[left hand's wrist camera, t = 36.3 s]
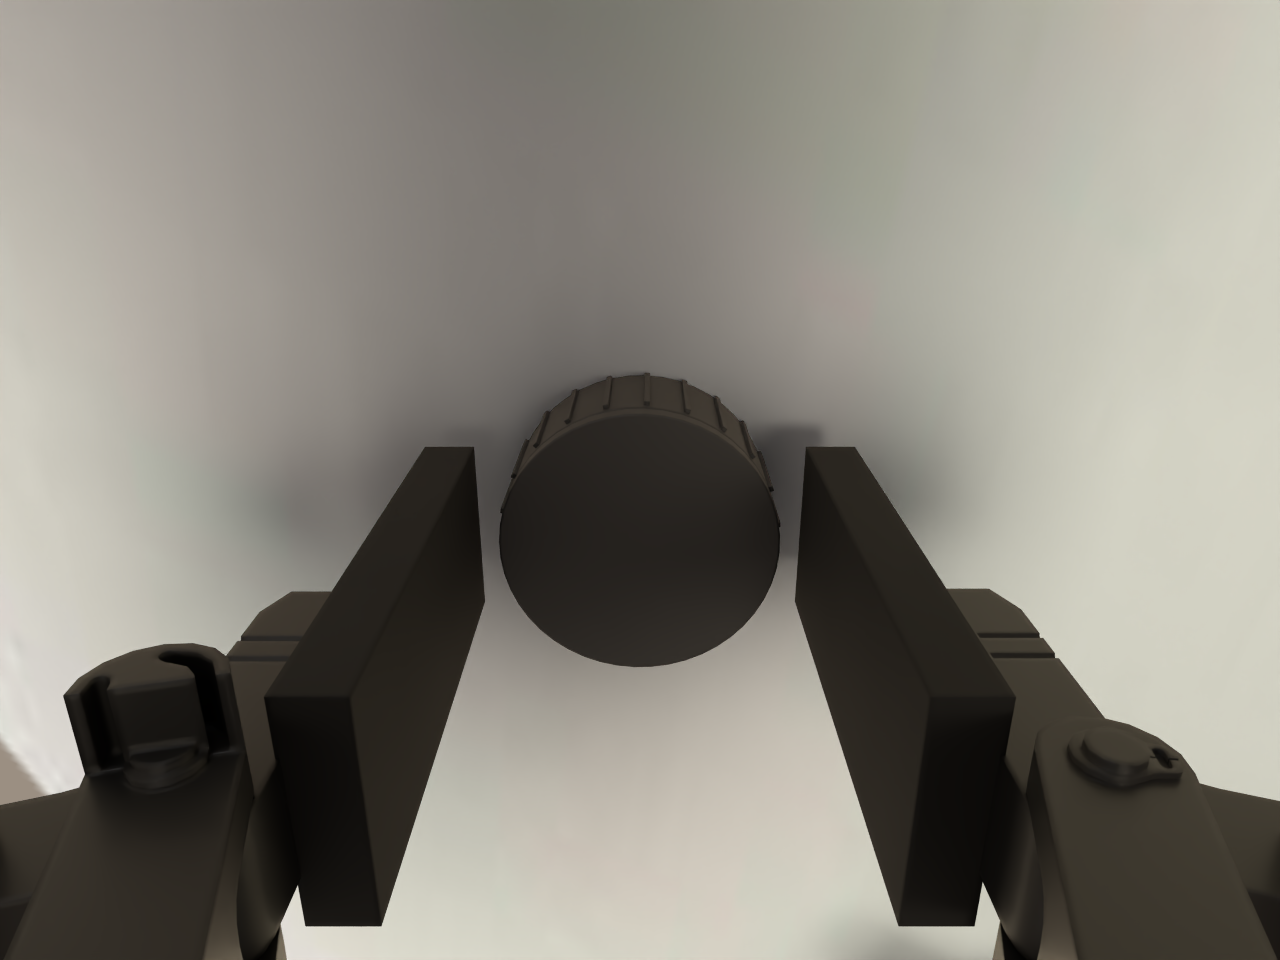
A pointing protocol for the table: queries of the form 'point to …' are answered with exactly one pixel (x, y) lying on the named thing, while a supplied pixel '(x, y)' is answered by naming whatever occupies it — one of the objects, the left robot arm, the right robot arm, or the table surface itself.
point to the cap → (639, 523)
